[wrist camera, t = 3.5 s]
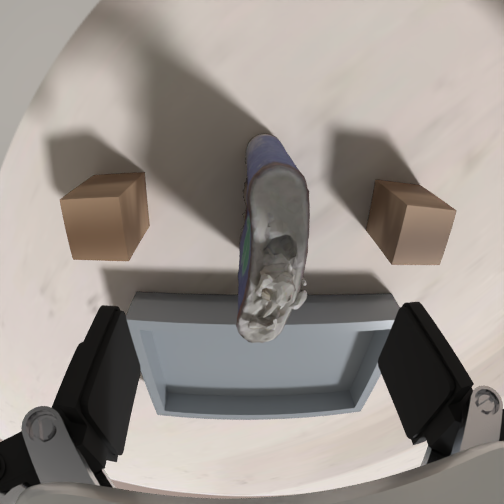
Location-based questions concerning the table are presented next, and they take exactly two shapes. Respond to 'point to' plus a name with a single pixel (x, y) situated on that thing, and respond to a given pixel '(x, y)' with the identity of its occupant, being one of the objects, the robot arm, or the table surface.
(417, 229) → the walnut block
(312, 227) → the table surface
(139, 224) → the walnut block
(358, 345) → the tray
